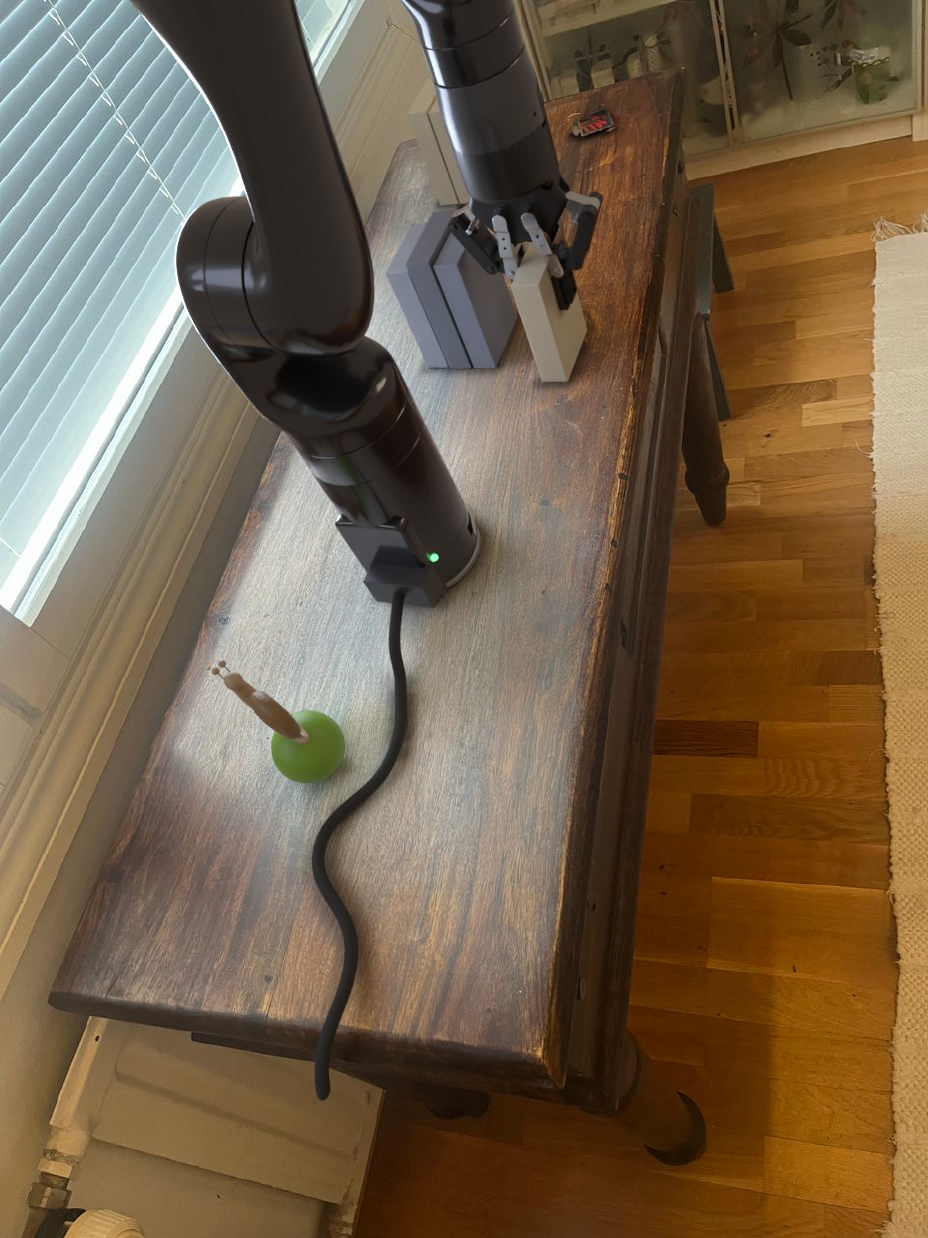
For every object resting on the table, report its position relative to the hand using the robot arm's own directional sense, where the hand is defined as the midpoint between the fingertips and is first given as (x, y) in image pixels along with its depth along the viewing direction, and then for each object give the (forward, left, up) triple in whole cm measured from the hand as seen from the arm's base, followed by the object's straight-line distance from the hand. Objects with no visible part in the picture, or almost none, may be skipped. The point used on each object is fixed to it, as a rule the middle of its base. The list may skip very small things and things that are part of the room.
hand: (550, 303), depth 83 cm
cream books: (+29, +21, -6) cm, 36 cm away
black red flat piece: (+38, +8, -6) cm, 39 cm away
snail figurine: (-44, +8, -6) cm, 45 cm away
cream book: (0, 0, -6) cm, 6 cm away
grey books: (+2, +11, -6) cm, 12 cm away
